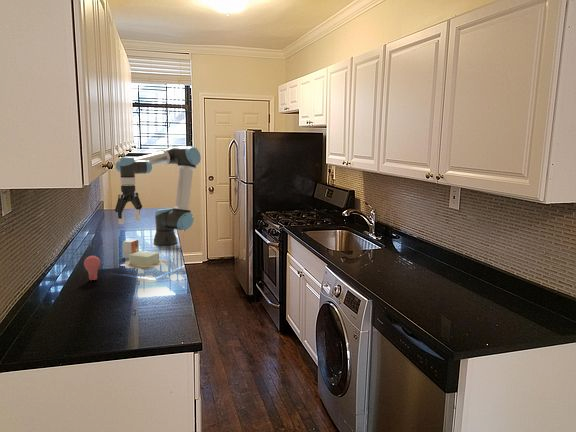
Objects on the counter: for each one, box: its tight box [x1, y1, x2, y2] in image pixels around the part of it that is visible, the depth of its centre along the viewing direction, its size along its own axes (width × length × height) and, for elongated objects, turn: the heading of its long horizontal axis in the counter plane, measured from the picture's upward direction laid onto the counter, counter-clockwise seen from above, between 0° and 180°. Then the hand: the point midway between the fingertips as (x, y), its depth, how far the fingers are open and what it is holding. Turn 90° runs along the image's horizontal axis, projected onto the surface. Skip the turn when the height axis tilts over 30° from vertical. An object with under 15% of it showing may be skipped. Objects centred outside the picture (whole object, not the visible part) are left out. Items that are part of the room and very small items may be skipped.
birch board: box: [119, 259, 169, 270], centre depth 237 cm, size 18×18×1 cm
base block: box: [128, 250, 160, 266], centre depth 236 cm, size 10×12×5 cm
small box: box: [121, 238, 139, 259], centre depth 250 cm, size 8×6×10 cm
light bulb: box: [83, 255, 101, 281], centre depth 208 cm, size 7×7×12 cm
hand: (129, 222), depth 247 cm, fingers open, 13 cm apart
